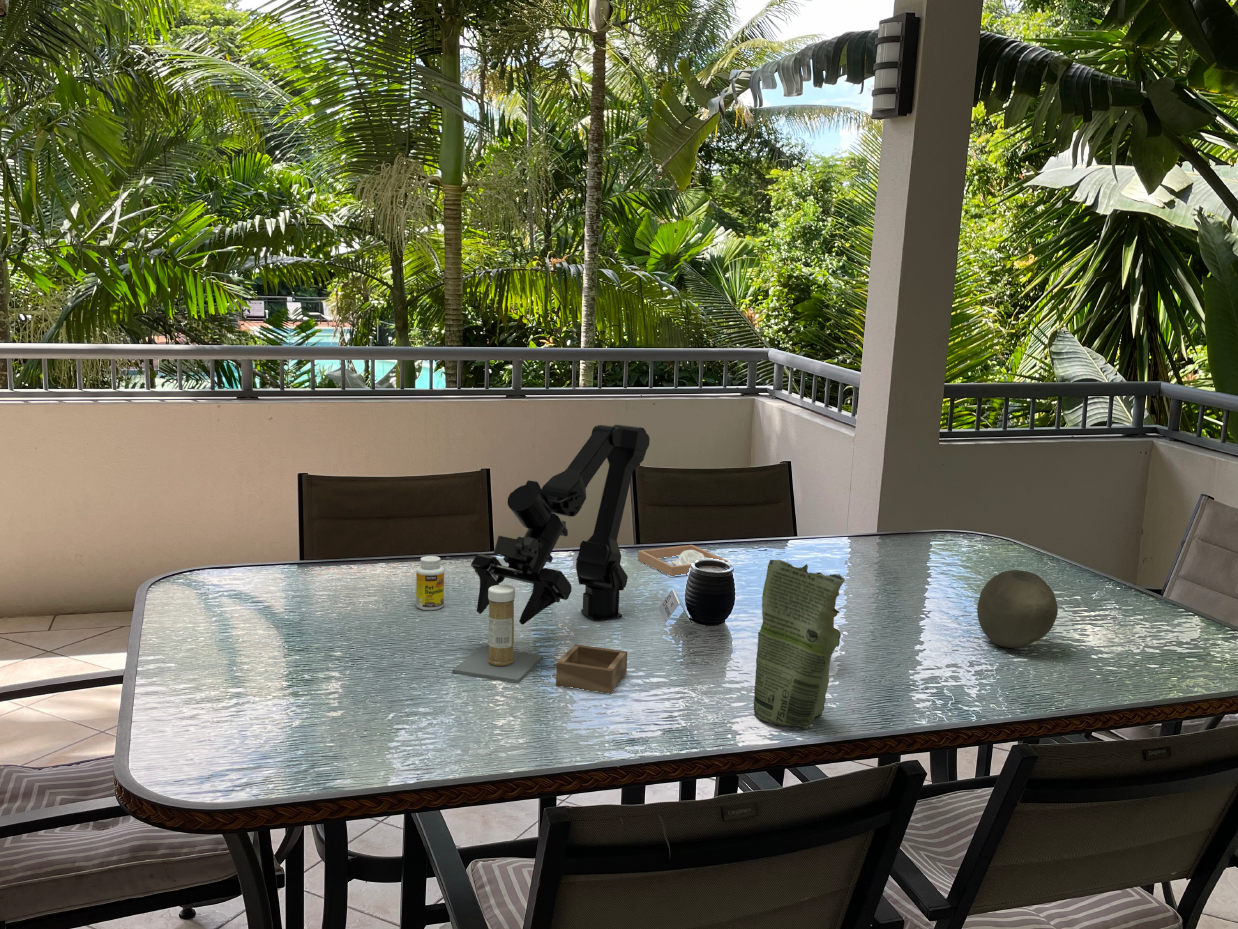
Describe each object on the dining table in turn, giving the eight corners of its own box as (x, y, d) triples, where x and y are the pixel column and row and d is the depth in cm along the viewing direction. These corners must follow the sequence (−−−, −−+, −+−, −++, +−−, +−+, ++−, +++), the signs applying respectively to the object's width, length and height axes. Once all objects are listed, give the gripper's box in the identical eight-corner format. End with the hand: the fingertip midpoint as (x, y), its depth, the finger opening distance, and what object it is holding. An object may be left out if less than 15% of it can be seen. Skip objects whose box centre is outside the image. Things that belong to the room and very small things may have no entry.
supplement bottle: (422, 612, 199) (422, 563, 197) (412, 604, 203) (412, 556, 201) (448, 608, 202) (448, 560, 200) (437, 601, 206) (437, 553, 204)
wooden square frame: (691, 554, 250) (692, 544, 249) (727, 570, 236) (727, 560, 236) (637, 560, 242) (638, 550, 242) (671, 577, 229) (671, 567, 229)
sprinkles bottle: (516, 658, 175) (517, 584, 172) (511, 667, 170) (512, 592, 168) (490, 656, 175) (491, 583, 173) (484, 666, 171) (485, 590, 168)
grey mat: (481, 649, 180) (481, 646, 180) (543, 658, 177) (543, 655, 177) (452, 673, 169) (452, 669, 169) (518, 683, 165) (518, 679, 165)
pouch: (749, 701, 162) (759, 552, 157) (823, 704, 162) (835, 555, 157) (757, 731, 151) (767, 572, 146) (836, 734, 151) (849, 576, 146)
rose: (703, 544, 244) (721, 554, 235) (702, 561, 245) (720, 572, 236) (666, 546, 240) (683, 557, 231) (665, 564, 241) (682, 575, 232)
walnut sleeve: (574, 665, 174) (575, 644, 173) (626, 673, 171) (627, 651, 171) (555, 685, 165) (556, 663, 164) (610, 694, 162) (611, 671, 162)
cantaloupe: (973, 653, 188) (981, 576, 185) (974, 630, 201) (981, 558, 198) (1054, 665, 183) (1063, 587, 180) (1049, 641, 196) (1058, 567, 193)
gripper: (477, 509, 177) (435, 584, 170) (564, 526, 168) (523, 605, 161) (504, 543, 185) (465, 615, 178) (588, 560, 176) (550, 637, 169)
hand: (499, 617), depth 171 cm, fingers open, 9 cm apart
